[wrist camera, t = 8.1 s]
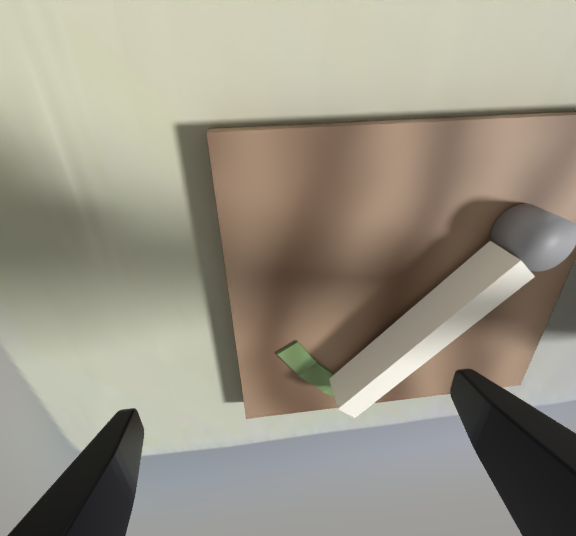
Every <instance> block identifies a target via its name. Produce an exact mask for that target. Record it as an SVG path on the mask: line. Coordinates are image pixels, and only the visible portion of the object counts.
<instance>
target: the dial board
mask: <svg viewBox="0 0 576 536" xmlns="http://www.w3.org/2000/svg"><path fill="white" fill-rule="evenodd" d="M206 134H207V141H208V148H209V155H210V162H211V169H212V177H213V184H214V191H215V198H216V205H217V213H218V220H219V227H220V234H221V241H222V249H223V256H224V263H225V270H226V277H227V285H228V292H229V299H230V306H231V313H232V321H233V328H234V335H235V342H236V349H237V357H238V364H239V371H240V378H241V385H242V393H243V400H244V407H245V414H246V419H249V418H257V417H265V416H273V415H281V414H289V413H297V412H306V411H314V410H322V409H330V408H338V407H337V404H336V400H335V397H334V394H333V390H332V387H331V383H330V380H329V379H330V378H331V377H332V376H333V375H334V374H335V373H337V372H338V371H339V370H340V369H341V368H342V367H344V366H345V365H346V364H347V363H348V362H349V361H351V360H352V359H353V358H354V357H355V356H356V355H358V354H359V353H360V352H361V351H362V350H363V349H365V348H366V347H367V346H368V345H369V344H370V343H372V342H373V341H374V340H375V339H376V338H377V337H378V336H380V335H381V334H382V333H383V332H384V331H385V330H387V329H388V328H389V327H390V326H391V325H392V324H394V323H395V322H396V321H397V320H398V319H399V318H401V317H402V316H403V315H404V314H405V313H406V312H408V311H409V310H410V309H411V308H412V307H413V306H415V305H416V304H417V303H418V302H419V301H420V300H422V299H423V298H424V297H425V296H426V295H427V294H429V293H430V292H431V291H432V290H433V289H434V288H436V287H437V286H438V285H439V284H440V283H441V282H443V281H444V280H445V279H446V278H447V277H448V276H450V275H451V274H452V273H453V272H454V271H455V270H457V269H458V268H459V267H460V266H461V265H462V264H464V263H465V262H466V261H467V260H468V259H469V258H471V257H472V256H473V255H474V254H475V253H476V252H478V251H479V250H480V249H481V248H482V247H483V246H485V245H486V244H487V243H488V242H489V241H491V231H492V228H493V226H494V224H495V222H496V220H497V219H498V218H499V217H500V215H501V214H503V213H504V212H505V211H506V210H508V209H509V208H511V207H513V206H515V205H518V204H531V205H534V206H536V207H539V208H541V209H543V210H546V211H548V212H551V213H553V214H555V215H558V216H560V217H562V218H565V219H567V220H570V221H572V222H573V223H574V224H575V225H576V111H575V112H553V113H532V114H511V115H489V116H468V117H447V118H425V119H404V120H382V121H361V122H340V123H318V124H297V125H276V126H254V127H233V128H212V129H209V130H208V131H207V132H206ZM575 258H576V245H575V247H574V249H573V251H572V252H571V253H570V255H569V256H568V257H567V258H566V259H565V260H564V261H562V262H561V263H560V264H558V265H557V266H555V267H553V268H551V269H548V270H545V271H538V272H537V271H531V270H530V271H531V273H532V274H533V275H534V276H535V277H534V278H533V279H531V280H530V281H529V282H528V283H526V284H525V285H524V286H522V287H521V288H520V289H519V290H517V291H516V292H515V293H514V294H512V295H511V296H510V297H508V298H507V299H506V300H505V301H503V302H502V303H501V304H500V305H498V306H497V307H496V308H494V309H493V310H492V311H491V312H489V313H488V314H487V315H485V316H484V317H483V318H482V319H480V320H479V321H478V322H477V323H475V324H474V325H473V326H471V327H470V328H469V329H468V330H466V331H465V332H464V333H463V334H461V335H460V336H459V337H457V338H456V339H455V340H454V341H452V342H451V343H450V344H449V345H447V346H446V347H445V348H443V349H442V350H441V351H440V352H438V353H437V354H436V355H434V356H433V357H432V358H431V359H429V360H428V361H427V362H426V363H424V364H423V365H422V366H420V367H419V368H418V369H417V370H415V371H414V372H413V373H412V374H410V375H409V376H408V377H406V378H405V379H404V380H403V381H401V382H400V383H399V384H398V385H396V386H395V387H394V388H392V389H391V390H390V391H389V392H387V393H386V394H385V395H383V396H382V397H381V398H380V399H378V400H377V401H376V402H375V403H378V402H387V401H395V400H403V399H411V398H419V397H427V396H435V395H443V394H450V387H451V384H452V381H453V377H454V374H455V372H456V371H457V370H459V369H467V368H470V369H473V370H475V371H476V372H478V373H479V374H481V375H483V376H484V377H486V378H487V379H489V380H491V381H492V382H494V383H495V384H497V385H499V386H500V387H508V386H516V385H521V383H522V380H523V378H524V376H525V373H526V371H527V369H528V366H529V364H530V362H531V359H532V357H533V355H534V353H535V350H536V348H537V346H538V343H539V341H540V339H541V336H542V334H543V332H544V329H545V327H546V325H547V323H548V320H549V318H550V316H551V313H552V311H553V309H554V306H555V304H556V302H557V299H558V297H559V295H560V292H561V290H562V288H563V286H564V283H565V281H566V279H567V276H568V274H569V272H570V269H571V267H572V265H573V262H574V260H575Z"/></svg>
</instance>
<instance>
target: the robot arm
mask: <svg viewBox="0 0 576 536" xmlns="http://www.w3.org/2000/svg"><path fill="white" fill-rule="evenodd" d="M450 394H451V398H452V400H453V402H454V405H455V407H456V409H457V412H458V414H459V416H460V418H461V420H462V423H463V425H464V427H465V430H466V432H467V434H468V437H469V438H470V441H471V443H472V445H473V447H474V449H475V451H476V453H477V455H478V457H479V459H480V461H481V462H482V464H483V466H484V468H485V469H486V471H487V473H488V475H489V477H490V478H491V480H492V482H493V484H494V486H495V487H496V489H497V491H498V493H499V495H500V496H501V498H502V500H503V502H504V503H505V505H506V507H507V509H508V511H509V512H510V514H511V516H512V518H513V520H514V521H515V523H516V525H517V527H518V528H519V530H520V532H521V534H522V536H576V433H574V432H573V431H571V430H569V429H568V428H566V427H564V426H563V425H561V424H560V423H558V422H556V421H555V420H553V419H552V418H550V417H548V416H547V415H545V414H544V413H542V412H540V411H539V410H537V409H536V408H534V407H532V406H531V405H529V404H528V403H526V402H524V401H523V400H521V399H520V398H518V397H516V396H515V395H513V394H512V393H510V392H508V391H507V390H505V389H504V388H502V387H500V386H499V385H497V384H495V383H494V382H492V381H491V380H489V379H487V378H486V377H484V376H483V375H481V374H479V373H478V372H476V371H475V370H473V369H470V368H467V369H459V370H457V371H456V372H455V374H454V377H453V381H452V384H451V387H450ZM143 439H144V428H143V425H142V422H141V419H140V417H139V414H138V412H137V410H136V409H135V408H131V409H123V410H120V411H118V412H117V413H116V414H115V415H114V416H113V417H112V419H111V420H110V421H109V422H108V423H107V424H106V425H105V426H104V428H103V429H102V430H101V431H100V432H99V433H98V434H97V435H96V437H95V438H94V439H93V440H92V441H91V442H90V443H89V444H88V446H87V447H86V448H85V449H84V450H83V451H82V452H81V453H80V455H79V456H78V457H77V458H76V459H75V460H74V461H73V462H72V464H71V465H70V466H69V467H68V468H67V469H66V470H65V471H64V473H63V474H62V475H61V476H60V477H59V478H58V479H57V481H56V482H55V483H54V484H53V485H52V486H51V487H50V488H49V490H48V491H47V492H46V493H45V494H44V495H43V496H42V497H41V498H40V500H39V501H38V502H37V503H36V504H35V505H34V506H33V507H32V509H31V510H30V511H29V512H28V513H27V514H26V515H25V516H24V518H23V519H22V520H21V521H20V522H19V523H18V524H17V526H16V527H15V528H14V529H13V530H12V531H11V532H10V533H9V534H8V536H125V535H126V531H127V527H128V523H129V519H130V515H131V511H132V507H133V503H134V498H135V493H136V487H137V480H138V473H139V466H140V459H141V453H142V446H143Z"/></svg>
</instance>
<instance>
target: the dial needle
mask: <svg viewBox="0 0 576 536" xmlns="http://www.w3.org/2000/svg"><path fill="white" fill-rule="evenodd" d="M575 245H576V225H575V224H574V223H573V222H572V221H570V220H567V219H565V218H562V217H560V216H558V215H555V214H553V213H551V212H548V211H546V210H543V209H541V208H539V207H536V206H534V205H531V204H518V205H515V206H513V207H511V208H509V209H508V210H506V211H505V212H504V213H503V214H501V215H500V217H499V218H498V219H497V220H496V222H495V224H494V226H493V228H492V231H491V241H489V242H488V243H487V244H486V245H485V246H483V247H482V248H481V249H480V250H479V251H478V252H476V253H475V254H474V255H473V256H472V257H471V258H469V259H468V260H467V261H466V262H465V263H464V264H462V265H461V266H460V267H459V268H458V269H457V270H455V271H454V272H453V273H452V274H451V275H450V276H448V277H447V278H446V279H445V280H444V281H443V282H441V283H440V284H439V285H438V286H437V287H436V288H434V289H433V290H432V291H431V292H430V293H429V294H427V295H426V296H425V297H424V298H423V299H422V300H420V301H419V302H418V303H417V304H416V305H415V306H413V307H412V308H411V309H410V310H409V311H408V312H406V313H405V314H404V315H403V316H402V317H401V318H399V319H398V320H397V321H396V322H395V323H394V324H392V325H391V326H390V327H389V328H388V329H387V330H385V331H384V332H383V333H382V334H381V335H380V336H378V337H377V338H376V339H375V340H374V341H373V342H372V343H370V344H369V345H368V346H367V347H366V348H365V349H363V350H362V351H361V352H360V353H359V354H358V355H356V356H355V357H354V358H353V359H352V360H351V361H349V362H348V363H347V364H346V365H345V366H344V367H342V368H341V369H340V370H339V371H338V372H337V373H335V374H334V375H333V376H332V377H331V378H330V379H329V380H330V383H331V387H332V390H333V394H334V397H335V400H336V404H337V407H338V409H339V410H341V411H343V412H345V413H346V414H348V415H350V416H352V417H354V418H355V417H357V416H358V415H359V414H361V413H362V412H363V411H364V410H366V409H367V408H368V407H369V406H371V405H372V404H373V403H375V402H376V401H377V400H378V399H380V398H381V397H382V396H383V395H385V394H386V393H387V392H389V391H390V390H391V389H392V388H394V387H395V386H396V385H398V384H399V383H400V382H401V381H403V380H404V379H405V378H406V377H408V376H409V375H410V374H412V373H413V372H414V371H415V370H417V369H418V368H419V367H420V366H422V365H423V364H424V363H426V362H427V361H428V360H429V359H431V358H432V357H433V356H434V355H436V354H437V353H438V352H440V351H441V350H442V349H443V348H445V347H446V346H447V345H449V344H450V343H451V342H452V341H454V340H455V339H456V338H457V337H459V336H460V335H461V334H463V333H464V332H465V331H466V330H468V329H469V328H470V327H471V326H473V325H474V324H475V323H477V322H478V321H479V320H480V319H482V318H483V317H484V316H485V315H487V314H488V313H489V312H491V311H492V310H493V309H494V308H496V307H497V306H498V305H500V304H501V303H502V302H503V301H505V300H506V299H507V298H508V297H510V296H511V295H512V294H514V293H515V292H516V291H517V290H519V289H520V288H521V287H522V286H524V285H525V284H526V283H528V282H529V281H530V280H531V279H533V278H534V277H535V276H534V275H533V274H532V273H531V271H537V272H538V271H545V270H548V269H551V268H553V267H555V266H557V265H558V264H560V263H561V262H562V261H564V260H565V259H566V258H567V257H568V256H569V255H570V253H571V252H572V251H573V249H574V247H575ZM530 270H531V271H530Z"/></svg>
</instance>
